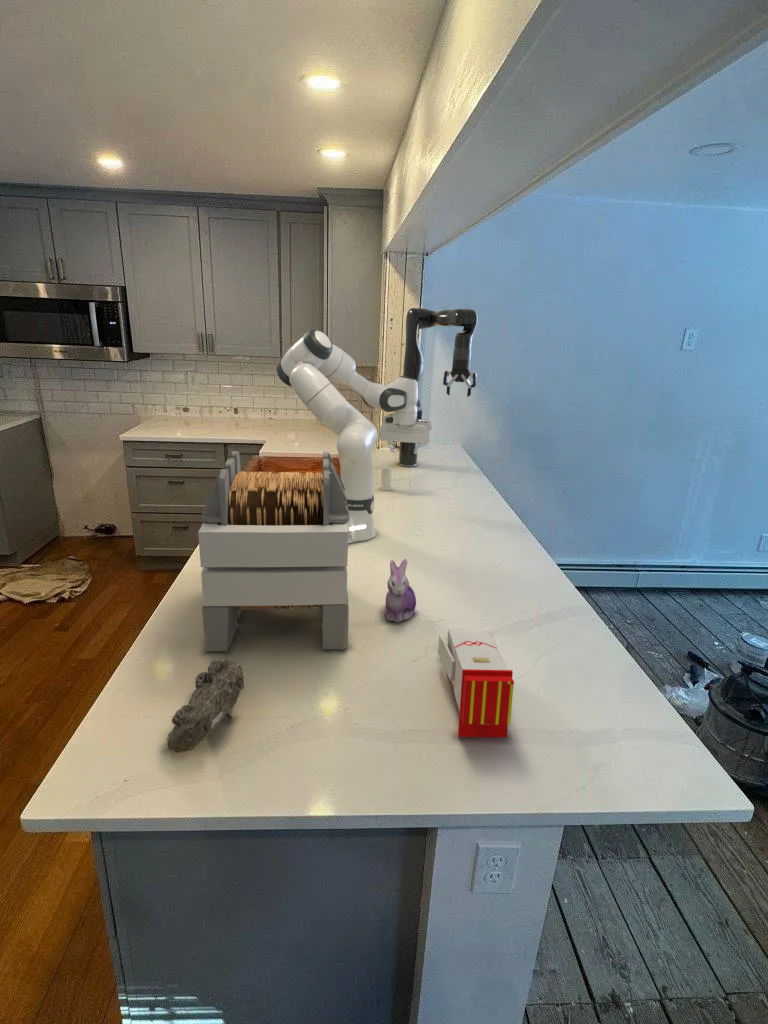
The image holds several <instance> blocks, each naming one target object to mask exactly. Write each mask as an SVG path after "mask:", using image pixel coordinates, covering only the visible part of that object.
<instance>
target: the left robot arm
mask: <svg viewBox="0 0 768 1024" xmlns="http://www.w3.org/2000/svg"><path fill="white" fill-rule="evenodd" d="M356 365H357V364H356V361H355V360H354V359H353V358H352V356H350V355H349V354H348V353H347V352H346V351H344V350H343V349H342V348H340V347H339V346H337V345H335V344H334V343H332V341H331V339H330V337H329V336H328V335H327V333H325V332H324V331H322V330H320V329H310V330H308V331H306V332H305V333H304V334H303V336H301V338H299V339H298V340H297V341H296V342H295V343H294V344H293V345H292V346H290V348H289V349H288V350H287V351H286V352H285V354H284V355H283V357H282V358H280V359H279V361H278V363H277V365H276V373H277V376H278V378H279V380H280V381H281V382H282V383H283V384H284V385H287V386H288V387H290V388H292V389H293V391H294V393H295V394H296V395H297V397H298V398H299V399H300V401H301V402H302V403H303V404H304V405H305V407H306V408H307V409H308V410H309V411H310V412H311V414H312V415H313V416H314V417H315V418H316V419H317V420H318V421H319V423H321V425H323V426H325V427H327V428H328V429H329V430H331V431H332V432H333V433H334V434H336V435H337V436H338V437H337V440H336V441H337V442H336V450H337V455H338V464H339V471H340V478H341V480H342V483H343V485H344V487H345V489H346V496H347V501H348V509H349V520H348V521H347V526H348V544H352V543H357V542H365V541H368V540H372V539H373V538H375V537H376V535H377V532H376V528H375V523H374V513H373V512H374V509H375V496H374V470H373V460H372V457H373V456H372V452H373V448H374V447H375V445H376V444H377V442H378V438H379V440H380V441H383V442H387V445H388V446H389V448H390V453H395V451H396V450H395V449H396V446H393V445H392V444H393V441H394V442H395V443H400V442H409V443H417V446H418V447H417V449H414V454H417V455H418V454H419V449H420V447H421V446H422V444H423V445H424V444H426V445H428V444H429V443H430V442H431V431H432V429H433V428H432V427H433V426H432V425H433V424H432V422H431V421H429V420H428V419H417V407H416V405H417V401H418V400H419V387H418V383H417V381H416V380H415V379H414V378H410V377H405V376H403V375H399V376H397V377H396V379H394V380H393V381H392V382H389V383H388V384H383V383H381V382H376V381H370V380H368V379H367V378H365V377H364V376H363V375H361V374H360V373H358V372H357V371H356V369H357V366H356ZM331 381H332V382H334V383H337V384H340V385H345V386H346V387H348V388H349V389H351V390H352V391H354V392H355V393H356V394H358V395H359V396H360V398H361V399H362V401H363V402H364V404H365V405H366V406H367V407H369V408H371V409H374V410H375V409H376V410H379V411H382V412H385V413H389V414H386V415H385V416H383V418H382V424H381V426H380V429H379V435H378V430H377V427H376V425H375V424H374V423H373V422H371V420H369V419H368V418H366V417H365V416H364V415H363V414H362V412H360V411H359V410H358V409H357V408H355V406H353V405H352V404H350V403H349V402H348V400H346V399H345V397H344V396H343V395H342V394H341V392H339V390H338V389H337V388H336V387H335V386H334V385H333V383H332V382H331ZM392 412H394V413H392ZM378 436H379V437H378Z"/></svg>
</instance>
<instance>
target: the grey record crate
mask: <svg viewBox="0 0 768 1024" xmlns="http://www.w3.org/2000/svg"><path fill="white" fill-rule="evenodd" d="M241 468H242V467H241V455H240V450H231V452H230V454H229V457H227V458H226V461H225V464H224V465H223V468H221V469H220V471H219V473H218V475H217V478H216V480H215V482H214V484H213V487H212V489H211V491H210V494H209V496H208V498H207V500H206V503H205V505H204V507H203V509H202V511H201V522H202V524H201V526H200V528H199V529H198V532H197V535H198V544H199V545H198V547H199V548H198V550H199V562H200V568H202V570H201V573H200V574H201V575H200V576H201V587H202V588H201V589H202V602H203V603H202V605H201V608H202V609H201V610H202V611H201V614H202V623H203V633H204V646H205V648H204V651H205V652H206V653H211V652H228V650H229V648H230V645H231V643H232V640H233V638H234V636H235V633H236V631H237V627H238V625H237V620H240V617H241V613H242V610H261V609H262V610H272V609H273V610H274V609H275V610H280V609H281V610H289V609H292V610H293V609H295V610H296V609H308V610H309V609H321V612H322V613H321V615H322V625H321V626H322V627H321V629H322V650H342V651H344V650H346V649H347V648H349V613H350V612H349V611H350V608H349V607H350V606H349V605H350V603H349V595H348V594H349V593H348V556H349V555H348V553H349V552H348V551H349V543H348V526H347V521H348V520H349V509H348V501H347V496H346V489H345V487H344V485H343V483H342V480H341V475H340V474H339V472H338V470H337V468H336V466H335V463H334V461H333V459H332V457H331V455H330V452H329V451H322V472H315V473H314V472H312V471H307V472H305V473H304V472H302V473H301V471H300V472H299V471H279V472H273V471H269V472H267V471H242V469H241Z"/></svg>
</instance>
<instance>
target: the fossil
mask: <svg viewBox="0 0 768 1024" xmlns="http://www.w3.org/2000/svg"><path fill="white" fill-rule="evenodd" d="M243 670H244V669H243V667H242V665H240V664H237V662H236V661H235V660H234V659H232V658H231V659H227V658H226V659H224V660H223V661H222V660H217V659H212V660H211V661H210V663H209V665H208V666H207V671H201V672H199V673H198V674H197V675H196V676H195V680H194V684H195V685H194V687H195V689H194V690H193V693H192V694H191V697H190V698H189V700H188V704H184V705H182V706H181V707H180V709H177V710H176V711H175V713H174V715H173V716H172V718H171V723H172V724H173V727H172V730H171V731H170V732H168V734H167V738H166V741H167V742H166V745H167V749H168V750H169V751H173V752H174V753H176V754H178V753H182V752H188V751H189V752H192V751H193V750H195V748H196V747H197V746H199V744H200V743H201V742H203V741H204V740H205V739H206V738H207V737H208V736H209V735H210V734H211V733H212V732H214V730H215V729H217V727H218V726H219V724H220V722H221V721H222V720H223V719H224V718H225V716H226V717H227V719H229V720H233V717H232V715H230V714H229V710H230V709H231V708H234V706H235V704H236V703H237V702H238V699H239V697H240V695H241V693H242V691H243V690H245V689H244V688H245V675H244V671H243Z"/></svg>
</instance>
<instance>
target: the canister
mask: <svg viewBox="0 0 768 1024" xmlns="http://www.w3.org/2000/svg"><path fill="white" fill-rule="evenodd" d="M380 469H381V470H380V471H381V472H380V490H381V491H383V492H388V491H391V490H392V476H393V467H392V466H387V465H386V466H381V467H380Z"/></svg>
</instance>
